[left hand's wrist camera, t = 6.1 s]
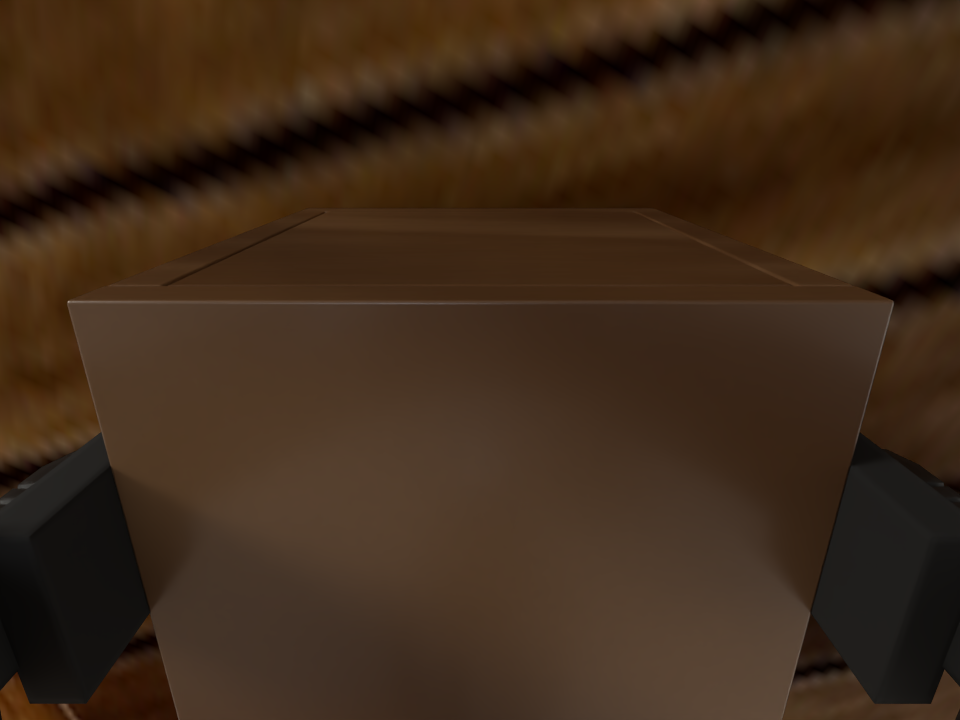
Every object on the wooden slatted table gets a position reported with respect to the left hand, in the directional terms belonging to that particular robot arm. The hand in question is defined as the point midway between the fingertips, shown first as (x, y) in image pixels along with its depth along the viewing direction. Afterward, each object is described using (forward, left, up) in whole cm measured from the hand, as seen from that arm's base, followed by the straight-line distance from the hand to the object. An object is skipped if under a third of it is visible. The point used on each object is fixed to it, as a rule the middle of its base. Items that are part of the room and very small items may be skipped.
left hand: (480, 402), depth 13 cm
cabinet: (+2, +6, -6) cm, 8 cm away
